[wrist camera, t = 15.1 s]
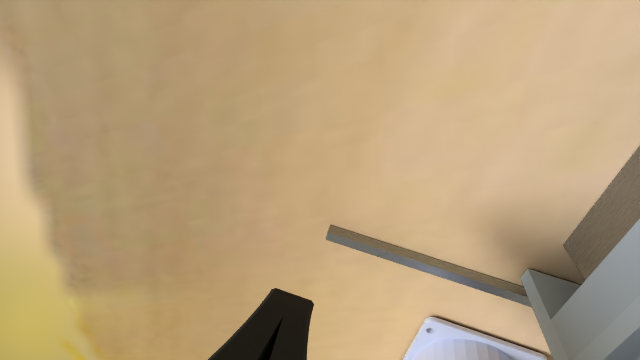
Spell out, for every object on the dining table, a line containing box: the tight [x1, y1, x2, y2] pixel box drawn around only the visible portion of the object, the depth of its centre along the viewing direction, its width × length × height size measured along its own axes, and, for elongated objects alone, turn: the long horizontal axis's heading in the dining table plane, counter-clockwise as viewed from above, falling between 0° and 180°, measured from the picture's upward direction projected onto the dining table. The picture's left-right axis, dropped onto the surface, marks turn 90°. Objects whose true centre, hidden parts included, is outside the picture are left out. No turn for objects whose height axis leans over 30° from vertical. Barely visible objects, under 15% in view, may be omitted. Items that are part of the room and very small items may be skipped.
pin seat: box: [326, 146, 640, 307], centre depth 14 cm, size 20×22×3 cm
